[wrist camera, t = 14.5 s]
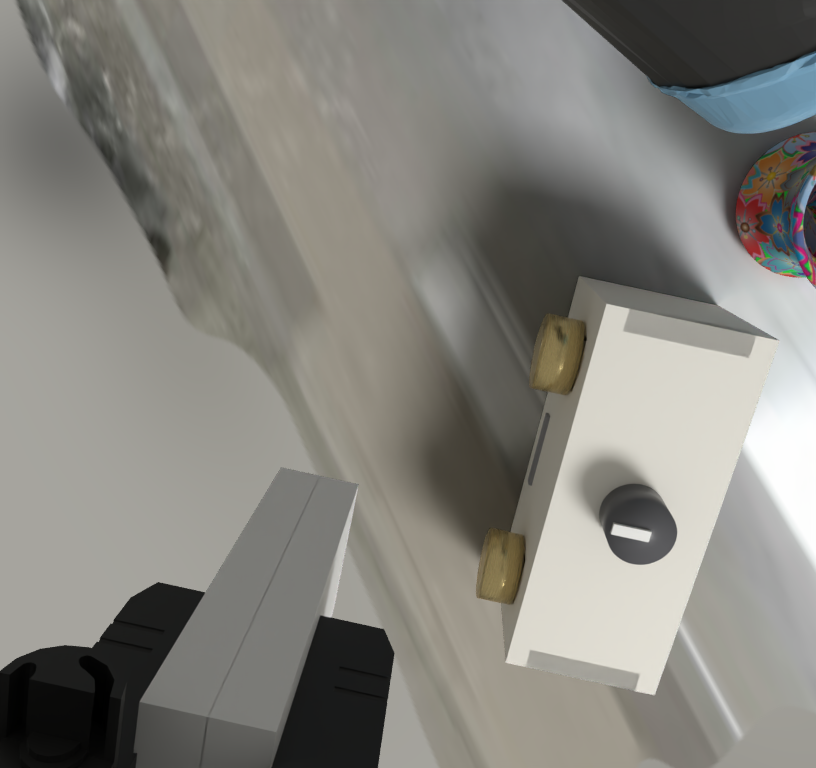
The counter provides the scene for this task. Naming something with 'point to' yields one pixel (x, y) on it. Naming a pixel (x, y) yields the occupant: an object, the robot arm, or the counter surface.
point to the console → (629, 479)
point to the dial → (637, 524)
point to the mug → (781, 208)
